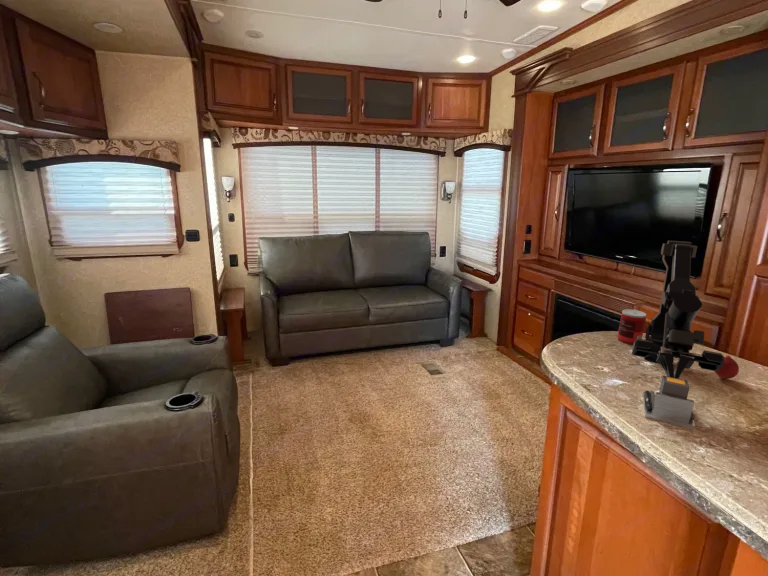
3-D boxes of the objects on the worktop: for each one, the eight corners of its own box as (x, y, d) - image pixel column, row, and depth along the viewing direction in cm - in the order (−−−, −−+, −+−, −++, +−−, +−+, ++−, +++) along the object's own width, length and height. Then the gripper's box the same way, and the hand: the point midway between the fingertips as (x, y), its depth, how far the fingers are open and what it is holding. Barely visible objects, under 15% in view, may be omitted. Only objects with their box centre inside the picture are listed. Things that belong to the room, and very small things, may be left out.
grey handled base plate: (642, 395, 109) (647, 372, 107) (687, 405, 104) (693, 382, 102) (644, 417, 99) (650, 392, 97) (694, 429, 94) (701, 404, 92)
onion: (735, 379, 118) (742, 354, 116) (734, 386, 114) (741, 361, 112) (711, 372, 122) (717, 349, 120) (709, 379, 118) (715, 354, 116)
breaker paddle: (656, 405, 102) (663, 374, 99) (679, 410, 99) (687, 379, 97) (657, 412, 98) (664, 381, 96) (681, 418, 96) (689, 386, 94)
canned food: (639, 338, 148) (644, 310, 145) (642, 346, 141) (648, 317, 138) (616, 335, 151) (621, 307, 148) (618, 342, 144) (623, 314, 141)
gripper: (641, 309, 104) (634, 364, 97) (732, 323, 95) (731, 384, 88) (634, 328, 112) (628, 379, 106) (717, 342, 103) (716, 399, 97)
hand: (673, 385), depth 99 cm, fingers closed, pressing on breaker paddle
